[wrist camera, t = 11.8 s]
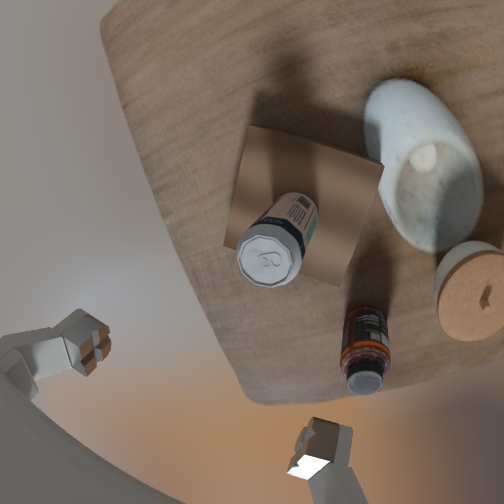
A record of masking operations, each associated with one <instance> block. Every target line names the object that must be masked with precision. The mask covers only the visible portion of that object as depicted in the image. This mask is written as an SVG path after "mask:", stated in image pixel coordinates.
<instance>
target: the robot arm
mask: <svg viewBox="0 0 504 504" xmlns="http://www.w3.org/2000/svg"><path fill="white" fill-rule="evenodd" d="M109 333H110V330H109V326H107V325H106V324H104V323H102V322H101V321H99V320H98V319H96V318H94V317H93V316H91V315H90V314H88V313H87V312H85V311H83V310H82V309H76V310H75V311H74V312H72V313H71V314H70V315H69V316H67V317H66V318H65V319H64V320H62V321H61V322H60V323H59V324H57V325H56V326H55V327H54V328H50V327H48V328H43V329H38V330H32V331H26V332H21V333H15V334H9V335H4V336H3V337H2V338H0V504H185V503H183V502H181V501H179V500H177V499H175V498H172V497H170V496H168V495H166V494H164V493H162V492H160V491H158V490H156V489H154V488H153V487H151V486H149V485H147V484H145V483H143V482H141V481H140V480H138V479H136V478H134V477H133V476H131V475H129V474H127V473H126V472H124V471H122V470H121V469H119V468H118V467H116V466H114V465H113V464H111V463H109V462H108V461H106V460H105V459H104V458H102V457H101V456H99V455H98V454H96V453H95V452H93V451H92V450H90V449H89V448H88V447H86V446H85V445H83V444H82V443H80V442H79V441H78V440H77V439H75V438H74V437H73V436H71V435H70V434H69V433H67V432H66V431H65V430H64V429H62V428H61V427H60V426H59V425H57V424H56V423H55V422H54V421H52V419H50V418H49V417H48V416H47V415H46V414H45V413H43V412H42V411H41V410H40V409H39V408H38V407H36V405H34V404H33V403H32V402H31V400H32V399H33V398H34V397H35V395H36V394H37V393H38V387H37V385H36V383H35V380H38V379H41V378H44V377H47V376H50V375H53V374H56V373H59V372H62V371H65V370H67V369H70V368H74V369H75V370H77V371H78V372H80V373H81V374H83V375H84V376H86V377H87V376H88V375H89V374H90V373H91V372H92V371H93V370H94V369H95V368H96V367H97V362H99V361H103V360H104V359H105V358H106V357H107V356H108V354H109V352H110V350H111V340H110V338H109V336H108V334H109ZM352 436H353V429H352V428H351V427H348V426H344V425H340V424H338V423H334V422H331V421H327V420H323V419H320V418H316V417H312V418H311V419H310V420H309V422H308V426H306V427H304V428H303V429H302V431H301V433H300V435H299V436H298V439H297V441H296V444H295V447H294V449H295V452H296V454H295V455H294V456H293V457H292V458H291V460H290V464H289V467H288V470H287V474H290V475H294V476H297V477H300V478H304V479H307V480H308V484H309V487H310V490H311V494H312V497H313V501H314V504H368V502H367V499H366V497H365V495H364V493H363V491H362V488H361V486H360V484H359V482H358V480H357V478H356V476H355V474H354V471H353V469H352V467H348V464H349V457H350V450H351V443H352Z"/></svg>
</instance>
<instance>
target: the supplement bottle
mask: <svg viewBox="0 0 504 504" xmlns="http://www.w3.org/2000/svg"><path fill="white" fill-rule="evenodd" d="M389 368H390V349H389V338H388V328H387V321H386V318H385V316H384V314H383V313H382V312H381V311H380V310H378V309H376V308H373V307H360V308H357V309H355V310H353V311H352V312H351V313H349V315H348V316H347V317H346V319H345V322H344V327H343V339H342V349H341V359H340V370H341V373H342V375H343V376H344V377H345V378H346V379H347V387H348V389H349V390H350V391H351V392H352V393H354V394H357V395H370V394H373V393H375V392H377V391H378V390H379V389H380V388H381V387H382V384H383V378H384V376H385V375H386V374H387V373H388V371H389Z"/></svg>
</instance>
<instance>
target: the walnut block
mask: <svg viewBox="0 0 504 504" xmlns="http://www.w3.org/2000/svg"><path fill="white" fill-rule="evenodd" d="M384 167H385V166H384V165H383V164H382V163H381V162H379V161H377V160H374V159H371V158H368V157H366V156H363V155H360V154H357V153H354V152H351V151H348V150H345V149H342V148H339V147H336V146H333V145H330V144H327V143H324V142H321V141H317V140H314V139H311V138H307V137H304V136H300V135H297V134H293V133H290V132H286V131H282V130H278V129H275V128H271V127H267V126H263V125H249V128H248V133H247V137H246V141H245V146H244V150H243V155H242V159H241V164H240V168H239V173H238V178H237V182H236V187H235V191H234V196H233V201H232V206H231V210H230V215H229V220H228V225H227V230H226V235H225V240H224V245H223V246H226V247H229V248H231V249H234V250H237V244H238V242H239V239H240V237H241V236H242V234H243V233H244V232H245V231H246V230H247V229H248V228H249V227H250V226H251V225H252V224H253V223H254V222H255V221H256V220H257V219H258V218H259V217H260V216H261V215H262V214H263V213H264V212H265V211H266V210H267V209H268V208H269V207H270V206H271V205H272V204H273V203H274V202H275V201H276V200H277V199H279V198H280V197H281V196H282V195H284V194H287V193H291V192H297V193H301V194H304V195H306V196H308V197H309V198H310V199H311V200H312V201H313V202H314V203H315V205H316V207H317V210H318V222H317V225H316V227H315V229H314V232H313V234H312V237H311V240H310V242H309V245H308V247H307V250H306V252H305V255H304V258H303V260H302V263H301V267H300V270H299V271H298V273H301V274H304V275H307V276H310V277H312V278H315V279H318V280H321V281H324V282H326V283H329V284H332V285H335V286H338V287H339V286H340V284H341V282H342V279H343V277H344V275H345V272H346V270H347V267H348V265H349V263H350V260H351V258H352V255H353V253H354V250H355V248H356V245H357V243H358V240H359V237H360V235H361V232H362V230H363V227H364V224H365V222H366V219H367V216H368V214H369V211H370V208H371V205H372V202H373V200H374V197H375V194H376V191H377V188H378V185H379V182H380V179H381V176H382V173H383V170H384Z"/></svg>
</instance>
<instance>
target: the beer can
mask: <svg viewBox="0 0 504 504" xmlns="http://www.w3.org/2000/svg"><path fill="white" fill-rule="evenodd" d="M317 222H318V210H317V207H316V205H315V203H314V202H313V201H312V200H311V199H310V198H309V197H308V196H306V195H304V194H301V193H297V192H291V193H287V194H284V195H282V196H281V197H280V198H279V199H277V200H276V201H275V202H274V203H273V204H272V205H271V206H270V207H269V208H268V209H267V210H266V211H265V212H264V213H263V214H262V215H261V216H260V217H259V218H258V219H257V220H256V221H255V222H254V223H253V224H252V225H251V226H250V227H249V228H248V229H247V230H246V231H245V232H244V233H243V234H242V236H241V237H240V239H239V242H238V244H237V251H236V255H237V260H238V263H239V266H240V269H241V272H242V274H243V275H244V276H246V277H247V278H248V279H249V280H250V281H251V282H252V283H254V284H255V285H260V286H265V287H270V288H272V287H275V286H279V285H284V284H286V283H288V282H289V281H291V280H292V279H293V278H294V277H295V276H296V275H297V273H298V271H299V270H300V267H301V263H302V260H303V258H304V255H305V252H306V250H307V247H308V245H309V242H310V240H311V237H312V234H313V232H314V229H315V227H316V225H317Z"/></svg>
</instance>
